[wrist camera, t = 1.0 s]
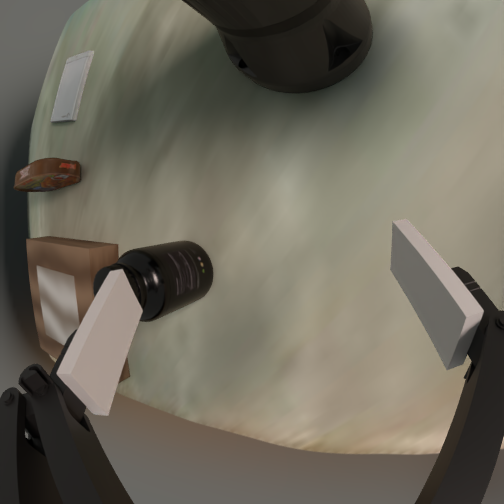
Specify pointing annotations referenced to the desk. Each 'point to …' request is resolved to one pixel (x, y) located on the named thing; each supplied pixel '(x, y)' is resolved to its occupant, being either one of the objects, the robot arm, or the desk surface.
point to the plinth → (65, 286)
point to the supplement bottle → (163, 276)
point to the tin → (47, 175)
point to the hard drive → (71, 87)
